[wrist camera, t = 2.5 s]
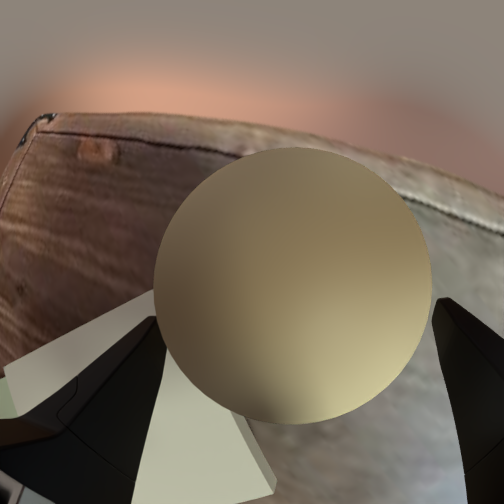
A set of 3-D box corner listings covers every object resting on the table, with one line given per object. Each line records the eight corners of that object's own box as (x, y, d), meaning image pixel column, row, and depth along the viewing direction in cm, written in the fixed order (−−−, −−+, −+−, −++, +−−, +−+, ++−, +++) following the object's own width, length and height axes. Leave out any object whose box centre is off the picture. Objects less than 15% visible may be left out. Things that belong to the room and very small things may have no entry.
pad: (69, 461, 18) (66, 462, 17) (21, 465, 18) (17, 466, 18) (33, 365, 20) (29, 365, 20) (-8, 384, 21) (-12, 385, 20)
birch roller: (361, 331, 17) (472, 335, 4) (282, 370, 17) (219, 460, 5) (322, 255, 18) (342, 112, 6) (246, 293, 19) (123, 221, 6)
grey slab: (284, 469, 15) (277, 500, 12) (98, 503, 16) (69, 521, 13) (196, 281, 19) (169, 269, 15) (37, 360, 20) (1, 360, 16)
